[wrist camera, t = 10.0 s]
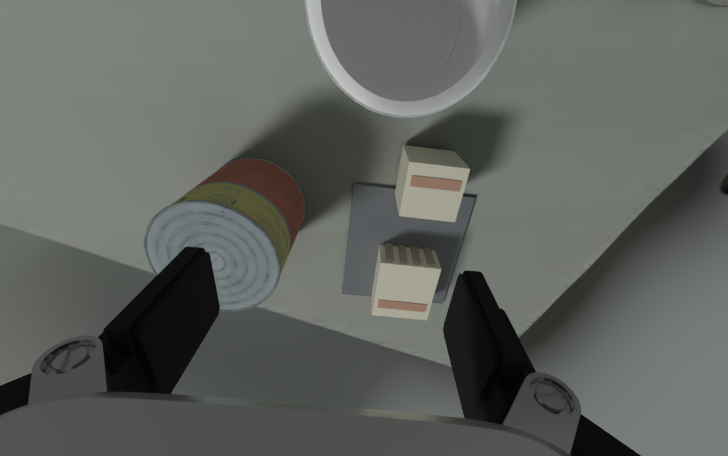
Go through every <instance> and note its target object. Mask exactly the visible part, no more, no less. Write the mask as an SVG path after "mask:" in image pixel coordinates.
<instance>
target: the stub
mask: <svg viewBox="0 0 728 456" xmlns="http://www.w3.org/2000/svg"><path fill="white" fill-rule="evenodd" d="M469 172H470V168H469V167H468V166H467V165H466V163H465V162H464V161H463V160H462V159H461V158H460V157H459V156H458V155H457V153H456V152H455V151H449V150H440V149H432V148H423V147H415V146H407V145H403V148H402V154H401V160H400V165H399V171H398V177H397V183H396V189H395V196H396V202H397V208H398V213H399V216H402V217H411V218H420V219H429V220H438V221H447V222H455V221H456V217H457V214H458V210H459V207H460V203H461V200H462V197H463V193H464V190H465V186H466V183H467V179H468V176H469Z"/></svg>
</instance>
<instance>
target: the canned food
mask: <svg viewBox="0 0 728 456" xmlns="http://www.w3.org/2000/svg"><path fill="white" fill-rule="evenodd" d="M305 212H306V205H305V199H304V195H303V192H302V190H301V188H300V186H299V185H298V183H297V182H296V180H295V179H294V178H293V177H292V176H291V175H290V174H289V173H288V172H287V171H286V170H285V169H283V168H282V167H280V166H279V165H277V164H275V163H273V162H271V161H268V160H265V159H261V158H255V157H244V158H238V159H235V160H232V161H230V162H228V163H226V164H225V165H223V166H222V167H221V168H220V169H219V170H218V171H217V172H215V173H214V174H213V175H211V176H210V177H208V178H207V179H206V180H204V181H203V182H202V183H200V184H199V185H198V186H196V187H195V188H193V189H192V190H191V191H189V192H188V193H187V194H185V195H184V196H183V197H181V198H180V199H178V200H177V201H176V202H174V203H173V204H172V205H170V206H167V207H166V208H164V209H162V210H161V211H160V212H159V213H157V214H156V215H155V216H154V217H153V219H152V220H151V221H150V223H149V225H148V227H147V229H146V232H145V237H144V249H145V254H146V257H147V260H148V263H149V265H150V267H151V269H152V270H153V272H154V273H155V275H156V276H157V275H158V274H159V273H160V272H161V271H162V270H163V269H164V268H165V267H166V266H167V265H168V264H169V263H170V262H171V261H172V260H173V259H174V258H175V257H176V256H177V255H178V254H179V253H180V252H181V251H182V250H183V249H184V248H185V247H188V246H189V247H201V248H204V249H205V251H206V252H209V254H210V257H211V262H212V268H213V273H214V278H215V283H216V289H217V294H218V299H219V305H220V310H219V311H225V312H231V311H241V310H246V309H249V308H252V307H255V306H257V305H259V304H260V303H262V302H263V301H265V300H266V299H267V298H268V297H269V296H270V295H271V294H272V293H273V291H274V290H275V288H276V286H277V284H278V281H279V278H280V274H281V272H282V269H283V267H284V264H285V262H286V260H287V257H288V255H289V252H290V250H291V248H292V245H293V243H294V241H295V238H296V236H297V233H298V231H299V229H300V227H301V226H302V223H303V221H304V218H305Z"/></svg>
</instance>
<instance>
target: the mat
mask: <svg viewBox="0 0 728 456" xmlns="http://www.w3.org/2000/svg"><path fill="white" fill-rule="evenodd" d="M395 189H396V188H394V187H385V186H377V185H368V184H359V183H354V185H353V194H352V204H351V214H350V224H349V233H348V243H347V253H346V263H345V272H344V282H343V292H342V294H351V295H361V296H371V297H372V289H373V283H374V276H375V270H376V264H377V258H378V252H379V245H380V244H382V245H385V244H386V243H392V246H398V244H401V245H405V247H410V248H411V246H417V247H418V248H419V249H423V248H424V247H429V248H430V249H431V250H435V252H436V255H437V258H438V260H439V263H440V266H441V272H440V276H439V279H438V283H437V286H436V290H435V293H434V297H433V300H432V303H441V304H443V301H444V298H445V295H446V292H447V288H448V285H449V282H450V279H451V275H452V272H453V269H454V266H455V263H456V259H457V256H458V253H459V250H460V246H461V243H462V240H463V237H464V233H465V230H466V227H467V224H468V221H469V217H470V214H471V211H472V208H473V204H474V201H475V197H473V196H464V195H463V197H462V200H461V203H460V207H459V210H458V214H457V217H456V221H455V222H447V221H438V220H429V219H420V218H411V217H402V216H399V213H398V208H397V202H396V196H395Z"/></svg>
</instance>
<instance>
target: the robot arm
mask: <svg viewBox="0 0 728 456" xmlns="http://www.w3.org/2000/svg"><path fill="white" fill-rule="evenodd" d="M695 1H697V2H698V3H701V4H704V5H708V6H711V7H728V0H695ZM219 310H220V305H219V299H218V294H217V289H216V283H215V278H214V273H213V268H212V262H211V257H210V254H209V252H206V251H205V249H204V248H201V247H189V246H188V247H185V248H184V249H183V250H182V251H181V252H180V253H179V254H178V255H177V256H176V257H175V258H174V259H173V260H172V261H171V262H170V263H169V264H168V265H167V266H166V267H165V268H164V269H163V270H162V271H161V272H160V273H159V274H158V275H157V276H156V277H155V278H154V279H153V280H152V281H151V282H150V283H149V284H148V285H147V286H146V287H145V288H144V289H143V290H142V291H141V292H140V293H139V294H138V295H137V296H136V297H135V298H134V299H133V300H132V301H131V302H130V303H129V304H128V305H127V306H126V307H125V308H124V309H123V310H122V312H120V313H119V314H118V316H116V318H114V319H113V320H112V321H111V322H110V323H109V324H108V325H107V326H106V328H104V332H103V333H102V334H101V335H100V336H99V337H98V338H97V337H96V336H89V335H86V336H78V337H74V338H70V339H68V340H65V341H63V342H60V343H58V344H56V345H55V346H53V347H51V348H50V349H48V350H47V351H46V352H44V353H43V354H42V355H41V356H40V357H39V358H38V359H37V361H36V362H35V364H34V366H33V369H32V373H31V374H28V375H26V376H23V377H21V378H18V379H16V380H13V381H11V382H9V383H6V384H4V385H1V386H0V456H640V455H639V454H637V453H636V452H635V451H633V450H632V449H630V448H629V447H627V446H626V445H625V444H623V443H622V442H620V441H619V440H617V439H616V438H614V437H613V436H612V435H610V434H609V433H607V432H606V431H604V430H603V429H602V428H600V427H599V426H597V425H596V424H594V423H593V422H591V421H590V420H589V419H587V418H586V417H584V416H583V415H581V406H580V403H579V400H578V398H577V397H576V395H575V394H574V392H573V391H572V390H571V389H570V388H569V387H568V386H567V385H566V384H565V383H563V382H562V381H560V380H559V379H558V378H555V377H553V376H551V375H549V374H545V373H541V372H540V373H539V372H536V371H535V369H534V368H533V365H532V364H531V362H530V360H529V358H528V356H527V354H526V352H525V350H524V348H523V346H522V344H521V342H520V340H519V338H518V336H517V334H516V332H515V330H514V328H513V326H512V324H511V322H510V320H509V319H508V317H507V315H506V313H505V311H504V310H502V309H500V308H499V306H498V304H497V302H496V300H495V298H494V296H493V294H492V292H491V290H490V288H489V286H488V284H487V282H486V280H485V278H484V276H483V274H482V273H481V272H477V271H464V273H463V274H459V275H458V278H457V281H456V285H455V288H454V292H453V295H452V299H451V302H450V305H449V309H448V312H447V316H446V319H445V323H444V328H443V332H444V337H445V341H446V345H447V349H448V354H449V358H450V362H451V366H452V369H453V374H454V378H455V382H456V386H457V389H458V394H459V398H460V402H461V406H462V410H463V414H464V417H465V418H456V417H447V416H437V415H426V414H415V413H405V412H393V411H382V410H369V409H357V408H346V407H333V406H322V405H308V404H297V403H284V402H270V401H258V400H245V399H232V398H218V397H205V396H190V395H176V394H171V392H172V390H173V389H174V387H175V386H176V384H177V382H178V381H179V379H180V377H181V376H182V374H183V372H184V371H185V369H186V367H187V366H188V364H189V363H190V361H191V359H192V357H193V356H194V354H195V352H196V351H197V349H198V348H199V346H200V344H201V342H202V341H203V339H204V337H205V336H206V334H207V333H208V331H209V329H210V328H211V326H212V324H213V323H214V321H215V319H216V318H217V316H218V314H219Z"/></svg>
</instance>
